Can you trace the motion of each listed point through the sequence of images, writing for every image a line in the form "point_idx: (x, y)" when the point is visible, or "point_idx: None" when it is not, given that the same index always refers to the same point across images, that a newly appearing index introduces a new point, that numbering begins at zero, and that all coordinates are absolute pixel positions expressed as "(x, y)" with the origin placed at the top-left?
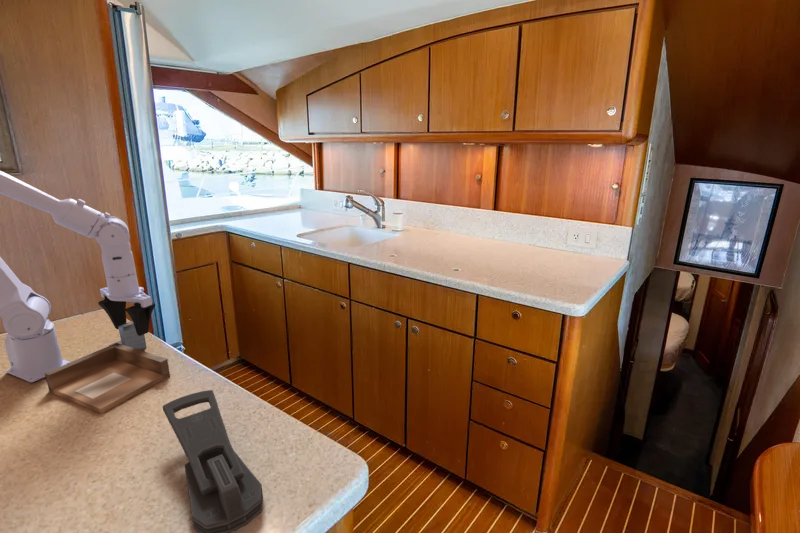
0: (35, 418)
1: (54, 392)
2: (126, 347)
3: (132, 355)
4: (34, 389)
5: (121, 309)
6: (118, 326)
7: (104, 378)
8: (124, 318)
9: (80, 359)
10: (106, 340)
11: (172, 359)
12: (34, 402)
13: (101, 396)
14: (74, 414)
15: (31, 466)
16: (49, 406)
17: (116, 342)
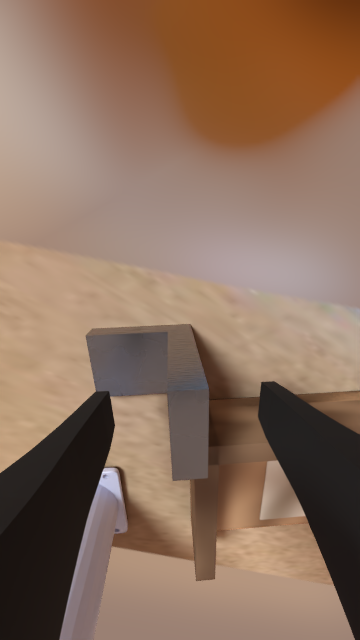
0: (255, 548)
1: None
2: (260, 448)
3: None
4: (156, 527)
5: (58, 496)
6: (173, 479)
7: (272, 478)
8: (92, 422)
9: (204, 531)
10: (17, 357)
11: (333, 334)
12: None
13: None
14: (305, 523)
15: None
16: (242, 532)
17: (97, 376)
